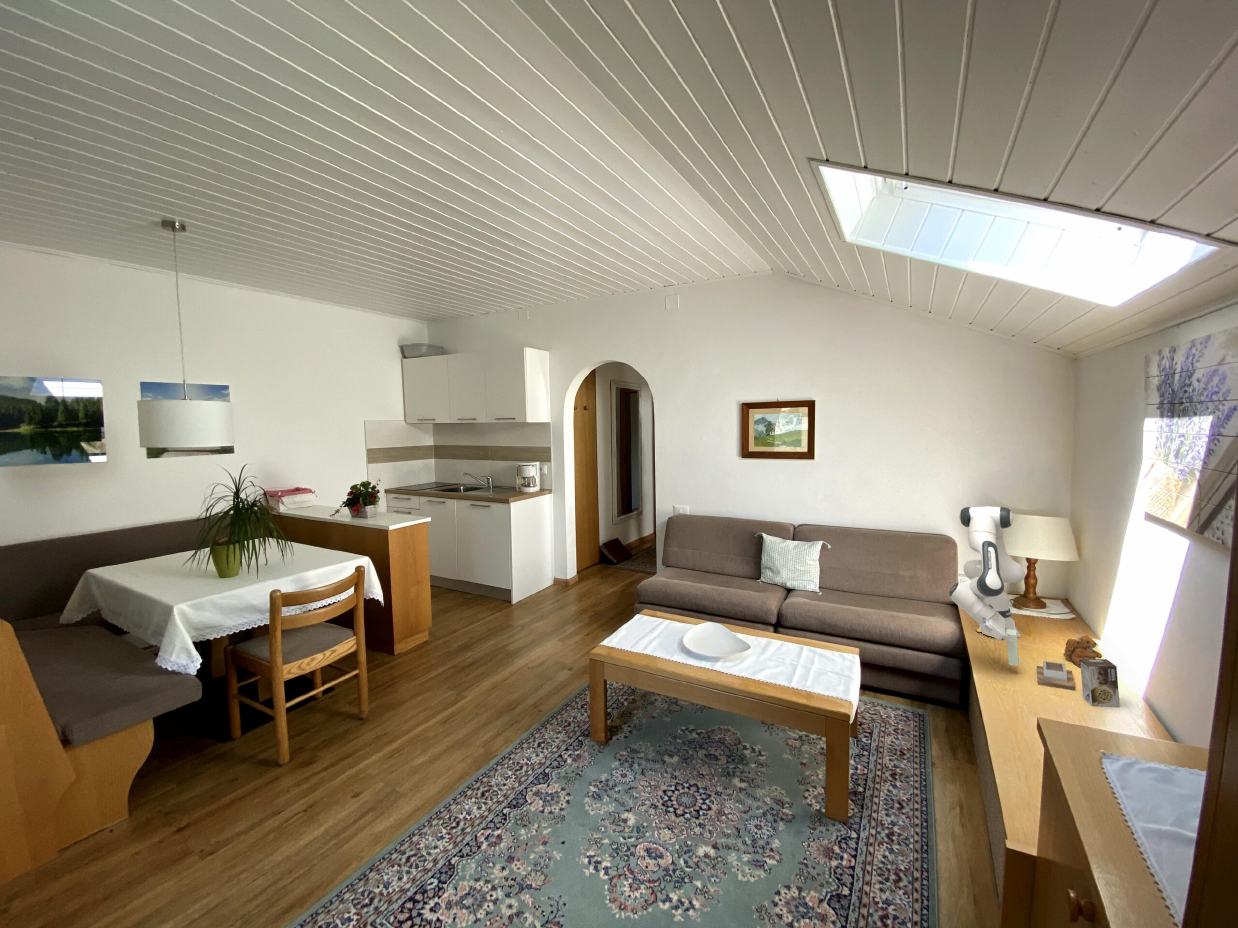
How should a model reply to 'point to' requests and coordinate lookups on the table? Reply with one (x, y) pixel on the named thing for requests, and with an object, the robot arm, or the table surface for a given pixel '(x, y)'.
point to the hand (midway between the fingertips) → (1012, 638)
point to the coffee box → (1099, 682)
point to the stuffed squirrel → (1081, 649)
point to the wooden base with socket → (1055, 675)
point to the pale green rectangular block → (1012, 648)
